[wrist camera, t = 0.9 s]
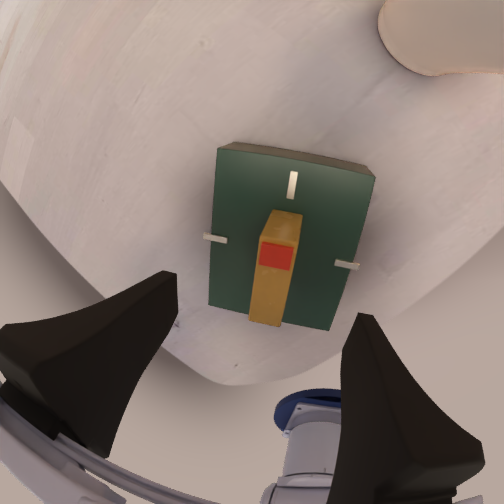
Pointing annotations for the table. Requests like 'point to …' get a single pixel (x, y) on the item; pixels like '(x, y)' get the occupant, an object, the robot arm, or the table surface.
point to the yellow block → (274, 267)
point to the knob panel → (295, 201)
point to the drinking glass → (444, 35)
